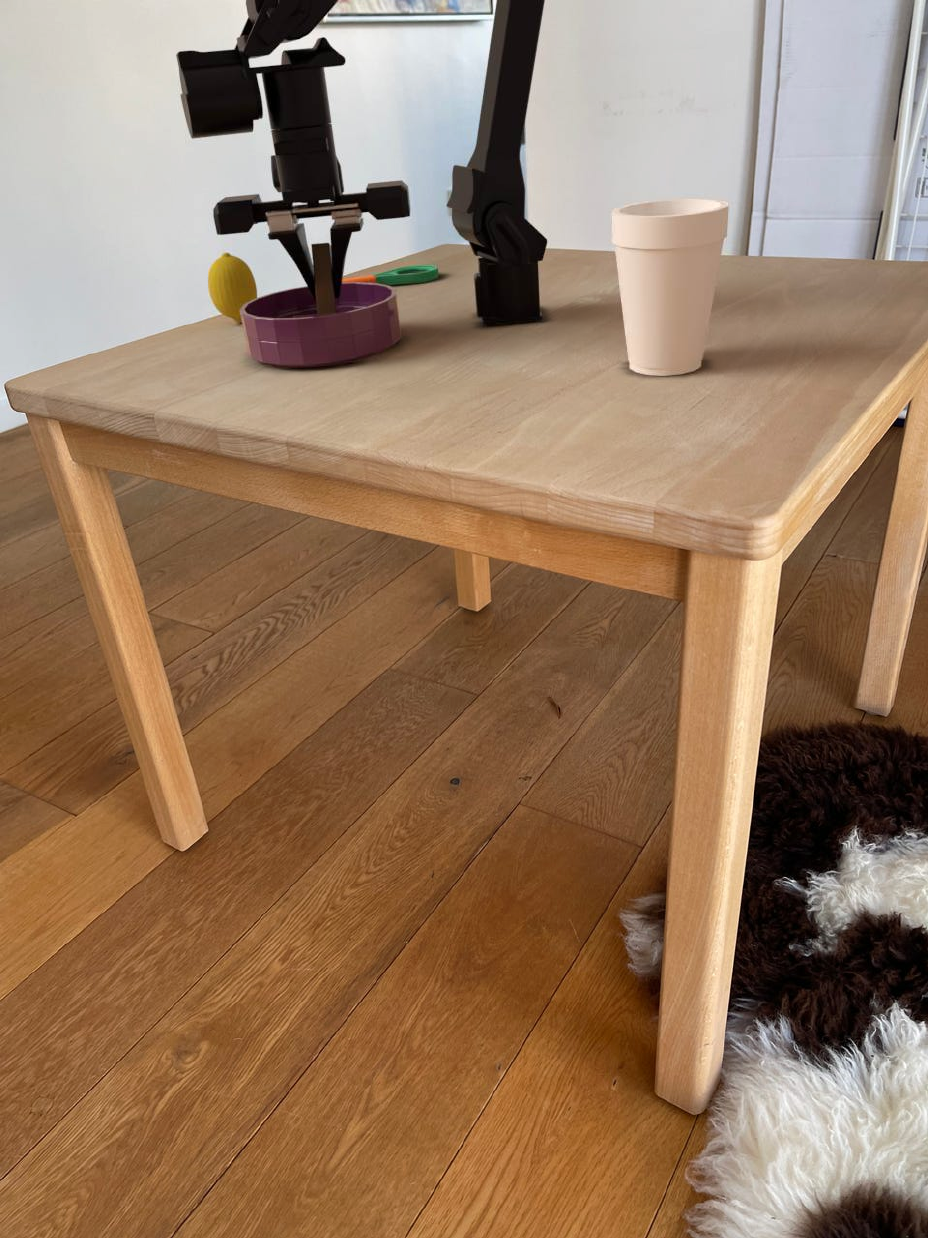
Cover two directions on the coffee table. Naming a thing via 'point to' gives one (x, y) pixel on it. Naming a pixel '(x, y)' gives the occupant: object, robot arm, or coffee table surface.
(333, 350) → the bowl
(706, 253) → the foam cup
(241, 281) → the lemon
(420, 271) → the magnifying glass
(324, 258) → the brush
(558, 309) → the coffee table surface
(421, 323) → the coffee table surface
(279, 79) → the robot arm
